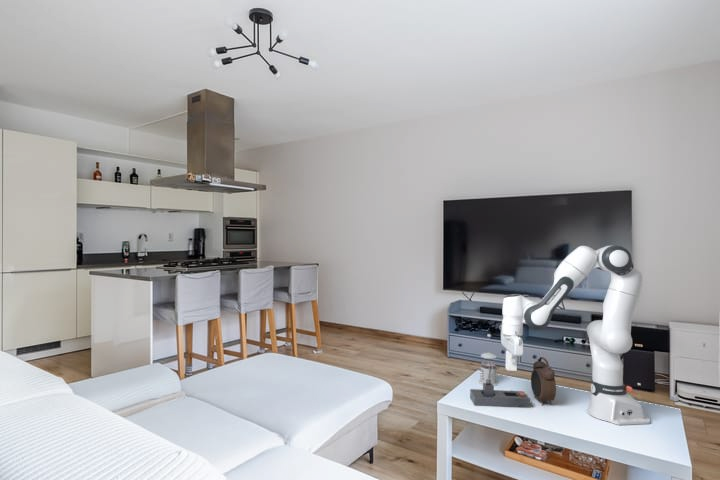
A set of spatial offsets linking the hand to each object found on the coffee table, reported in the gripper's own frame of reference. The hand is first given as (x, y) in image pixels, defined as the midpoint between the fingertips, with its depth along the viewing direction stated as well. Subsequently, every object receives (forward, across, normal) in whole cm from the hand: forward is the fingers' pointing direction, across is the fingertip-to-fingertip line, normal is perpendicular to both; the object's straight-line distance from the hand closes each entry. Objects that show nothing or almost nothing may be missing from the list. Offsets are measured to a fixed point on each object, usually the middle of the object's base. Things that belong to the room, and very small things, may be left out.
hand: (511, 360), depth 184 cm
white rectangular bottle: (+4, 0, 0) cm, 4 cm away
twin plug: (+19, 0, +10) cm, 22 cm away
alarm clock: (+19, +3, -15) cm, 25 cm away
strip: (+19, 0, +5) cm, 20 cm away
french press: (+19, +26, +3) cm, 32 cm away
